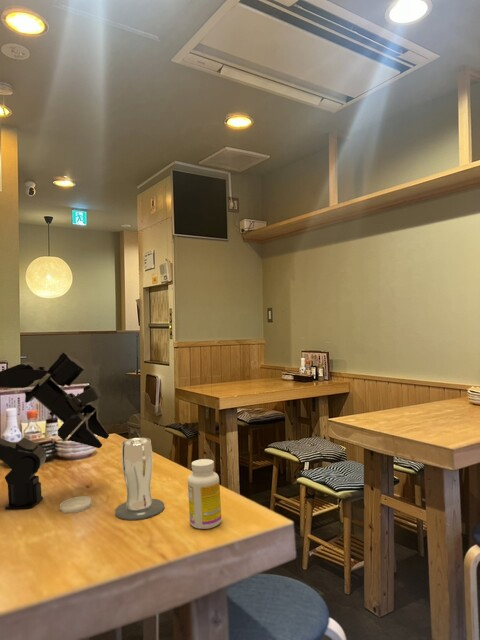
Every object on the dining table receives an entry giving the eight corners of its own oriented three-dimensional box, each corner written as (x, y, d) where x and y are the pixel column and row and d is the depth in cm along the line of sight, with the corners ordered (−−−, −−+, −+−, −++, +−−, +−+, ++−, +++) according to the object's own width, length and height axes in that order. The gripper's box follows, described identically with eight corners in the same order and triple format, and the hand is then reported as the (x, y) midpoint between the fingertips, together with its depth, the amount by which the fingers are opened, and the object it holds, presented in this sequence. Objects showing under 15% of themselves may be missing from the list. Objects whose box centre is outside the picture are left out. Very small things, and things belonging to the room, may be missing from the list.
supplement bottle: (227, 519, 101) (224, 459, 101) (211, 532, 95) (208, 468, 95) (200, 514, 104) (197, 456, 104) (183, 527, 98) (180, 465, 98)
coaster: (108, 521, 103) (108, 518, 103) (123, 501, 114) (123, 499, 114) (158, 519, 102) (158, 516, 102) (168, 500, 113) (168, 497, 113)
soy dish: (70, 516, 107) (69, 510, 107) (54, 510, 111) (54, 504, 111) (97, 505, 112) (96, 499, 112) (81, 500, 117) (81, 494, 117)
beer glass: (155, 510, 106) (152, 443, 106) (123, 514, 105) (120, 446, 105) (154, 499, 113) (151, 436, 113) (124, 502, 111) (121, 439, 111)
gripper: (69, 380, 108) (121, 425, 109) (87, 371, 126) (131, 410, 128) (35, 417, 107) (87, 462, 108) (58, 403, 126) (103, 441, 127)
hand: (104, 441), depth 118 cm, fingers open, 9 cm apart
